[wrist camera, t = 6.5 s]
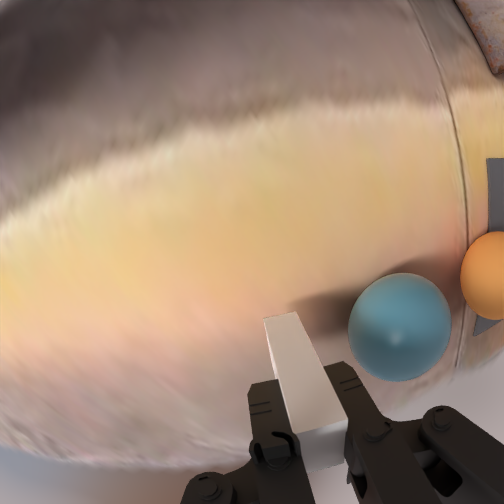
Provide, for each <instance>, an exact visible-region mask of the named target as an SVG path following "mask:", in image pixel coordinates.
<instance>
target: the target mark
mask: <svg viewBox="0 0 504 504" xmlns="http://www.w3.org/2000/svg"><path fill="white" fill-rule="evenodd" d="M486 159H487V172H488V191H489V224H488V233H490V232H496V231H501V232H504V158H486ZM501 320H503V319H499V320H491V319H487V318H484V317H481V316H480V315H478V316H477V321H476V326H475V330H474V334H473V336H474V337H475V336H477V335H478V334H480V333H482V332H483V331H485V330H487V329H488V328H490V327H492V326H493V325H495V324H496V323H498V322H500V321H501Z"/></svg>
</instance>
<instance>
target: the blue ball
mask: <svg viewBox="0 0 504 504" xmlns="http://www.w3.org/2000/svg"><path fill="white" fill-rule="evenodd" d="M451 326H452V321H451V312H450V309H449V305H448V303H447V300H446V298H445V297H444V295H443V293H442V292H441V291H440V290H439V288H438V287H437V286H436V285H435V284H433V283H432V282H431V281H430V280H428V279H426V278H424V277H422V276H420V275H416V274H412V273H395V274H390V275H387V276H384V277H382V278H380V279H378V280H376V281H375V282H373V283H372V284H371V285H369V286H368V287H367V288H366V289H365V290H364V291H363V292H362V294H361V295H360V296H359V297H358V299H357V301H356V302H355V304H354V306H353V309H352V311H351V314H350V318H349V324H348V338H349V344H350V347H351V351H352V353H353V355H354V357H355V359H356V360H357V362H358V363H359V364H360V366H361V367H362V368H363V369H364V370H366V371H367V372H368V373H370V374H371V375H373V376H375V377H377V378H379V379H382V380H386V381H392V382H400V381H407V380H411V379H414V378H416V377H418V376H420V375H422V374H424V373H425V372H427V371H428V370H429V369H431V368H432V367H433V366H434V365H435V364H436V363H437V362H438V361H439V359H440V358H441V356H442V355H443V353H444V351H445V349H446V347H447V345H448V342H449V339H450V335H451Z"/></svg>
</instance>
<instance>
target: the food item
mask: <svg viewBox="0 0 504 504" xmlns="http://www.w3.org/2000/svg"><path fill="white" fill-rule="evenodd" d="M455 3H456V4H457V6H458V7H459V9H460V10H461V12H462V14H463V16H464V18H465V19H466V21H467V23H468V25H469V26H470V28H471V30H472V31H473V33H474V35H475V37H476V39H477V41H478V42H479V45H480V47H481V49H482V51H483V53H484V55H485V57H486V59H487V61H488V63H489V66H490V68H491V70H492V74H493V73H498V74H501V73H503V72H504V0H455Z"/></svg>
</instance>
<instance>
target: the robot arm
mask: <svg viewBox="0 0 504 504" xmlns="http://www.w3.org/2000/svg"><path fill="white" fill-rule="evenodd" d="M263 320H264V325H265V330H266V335H267V341H268V346H269V351H270V356H271V361H272V366H273V370H274V374H275V378H276V379H275V380H270V381H265V382H260V383H255V384H252V385H251V387H250V390H249V392H248V394H247V395H248V403H249V411H250V419H251V426H252V434H253V440H252V441H251V443H250V446H249V453H250V455H251V459H250V461H249V462H248V463H247V464H246V465H244V466H243V467H241V468H239V469H237V470H235V471H232V472H230V473H227V474H225V475H223V474H220V473H216V472H204V473H202V474H199V475H196V476H195V477H194V478H192V479H191V480H190V481H189V483H188V485H187V486H186V489H185V492H184V495H183V497H182V501H181V503H180V504H315V500H314V497H313V493H312V490H311V487H310V483H309V479H308V476H307V473H310V472H314V471H318V470H322V469H325V468H329V467H332V466H335V465H338V464H342V463H344V457H345V459H346V461H347V464H348V466H349V468H348V474H347V484H349V483H350V482H351V483H352V486H353V488H354V491H355V494H356V496H357V499H358V501H359V504H504V445H503V444H502V443H500V442H499V441H498V440H496V439H495V438H494V437H492V436H491V435H489V434H488V433H487V432H485V431H484V430H483V429H481V428H480V427H478V426H477V425H476V424H474V423H473V422H472V421H470V420H469V419H468V418H466V417H465V416H463V415H462V414H461V413H459V412H458V411H457V410H455V409H453V408H451V407H449V406H436V407H433V408H432V409H430V410H428V411H427V412H426V413H425V415H424V416H423V418H422V419H417V420H411V421H402V422H397V421H392V420H391V419H389V418H387V417H384V416H383V415H382V414H381V413H380V411H379V410H378V408H377V406H376V405H375V403H374V401H373V400H372V398H371V397H370V395H369V393H368V392H367V390H366V388H365V387H364V386H363V383H362V382H361V380H360V378H358V375H357V374H356V372H355V370H354V369H353V367H351V366H350V365H348V364H347V363H345V362H343V361H342V362H338V363H335V364H332V365H328V366H324V367H323V366H322V364H321V362H320V360H319V358H318V356H317V354H316V352H315V349H314V347H313V345H312V343H311V341H310V339H309V337H308V335H307V333H306V331H305V329H304V327H303V325H302V323H301V321H300V319H299V317H298V315H297V313H296V311H295V312H290V313H286V314H282V315H277V316H272V317H268V318H263Z"/></svg>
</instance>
